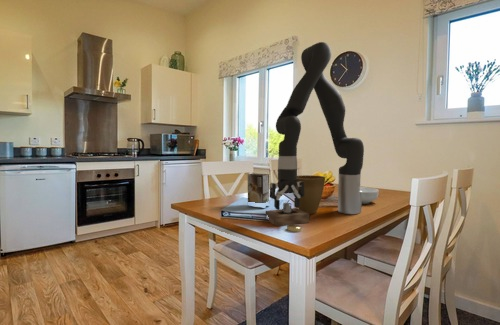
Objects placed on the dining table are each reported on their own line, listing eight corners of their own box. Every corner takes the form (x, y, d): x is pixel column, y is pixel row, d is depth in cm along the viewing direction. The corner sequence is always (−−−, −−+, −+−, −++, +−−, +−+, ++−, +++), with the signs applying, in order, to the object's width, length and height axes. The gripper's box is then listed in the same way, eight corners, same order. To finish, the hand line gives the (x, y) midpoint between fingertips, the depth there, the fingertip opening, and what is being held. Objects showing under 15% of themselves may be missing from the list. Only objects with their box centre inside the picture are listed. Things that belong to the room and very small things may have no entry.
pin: (288, 219, 111) (288, 202, 111) (292, 221, 108) (292, 204, 108) (281, 220, 110) (281, 203, 109) (285, 222, 107) (285, 204, 106)
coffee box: (269, 206, 134) (270, 174, 133) (263, 209, 129) (263, 175, 128) (254, 204, 139) (254, 173, 138) (247, 206, 134) (247, 174, 133)
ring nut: (296, 227, 101) (296, 223, 101) (304, 231, 96) (304, 227, 96) (284, 229, 99) (284, 225, 99) (291, 233, 94) (291, 229, 94)
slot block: (295, 216, 116) (295, 208, 116) (309, 222, 107) (309, 213, 107) (265, 219, 111) (265, 210, 111) (276, 226, 102) (276, 217, 102)
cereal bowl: (346, 198, 156) (346, 185, 156) (378, 200, 149) (378, 187, 148) (342, 203, 141) (342, 190, 141) (377, 207, 134) (378, 192, 133)
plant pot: (325, 209, 129) (325, 175, 128) (323, 217, 115) (324, 179, 114) (293, 207, 133) (294, 174, 132) (288, 214, 119) (288, 177, 118)
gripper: (298, 166, 114) (297, 205, 115) (267, 167, 109) (266, 207, 110) (308, 167, 107) (307, 208, 108) (275, 168, 102) (275, 212, 103)
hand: (287, 208), depth 109 cm, fingers open, 8 cm apart
